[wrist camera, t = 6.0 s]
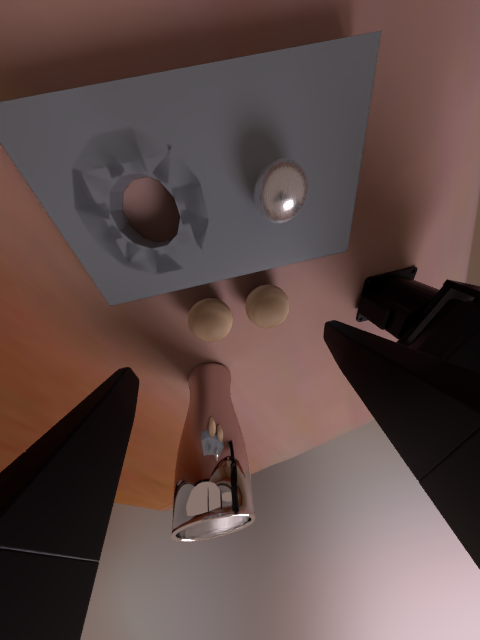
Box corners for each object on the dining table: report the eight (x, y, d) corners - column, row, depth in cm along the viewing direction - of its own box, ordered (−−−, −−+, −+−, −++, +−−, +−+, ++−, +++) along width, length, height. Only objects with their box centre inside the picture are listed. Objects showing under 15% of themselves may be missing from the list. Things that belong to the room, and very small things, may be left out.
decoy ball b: (225, 286, 20) (230, 306, 16) (233, 320, 22) (239, 344, 18) (183, 296, 19) (178, 319, 16) (196, 329, 22) (195, 355, 18)
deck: (351, 59, 12) (381, 30, 10) (331, 245, 19) (347, 250, 17) (17, 123, 11) (-25, 106, 9) (120, 294, 18) (109, 306, 16)
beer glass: (174, 376, 26) (146, 542, 13) (215, 352, 24) (226, 509, 12) (205, 398, 29) (206, 543, 17) (242, 378, 28) (272, 518, 16)
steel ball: (271, 163, 13) (320, 151, 11) (273, 218, 15) (315, 217, 13) (239, 165, 11) (292, 152, 9) (246, 228, 13) (290, 228, 11)
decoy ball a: (279, 273, 20) (296, 291, 16) (281, 309, 22) (296, 330, 19) (238, 283, 20) (246, 302, 16) (245, 317, 22) (253, 341, 18)
